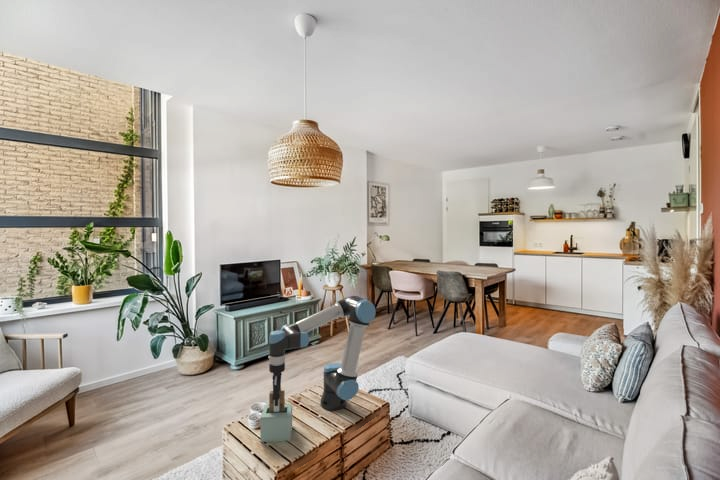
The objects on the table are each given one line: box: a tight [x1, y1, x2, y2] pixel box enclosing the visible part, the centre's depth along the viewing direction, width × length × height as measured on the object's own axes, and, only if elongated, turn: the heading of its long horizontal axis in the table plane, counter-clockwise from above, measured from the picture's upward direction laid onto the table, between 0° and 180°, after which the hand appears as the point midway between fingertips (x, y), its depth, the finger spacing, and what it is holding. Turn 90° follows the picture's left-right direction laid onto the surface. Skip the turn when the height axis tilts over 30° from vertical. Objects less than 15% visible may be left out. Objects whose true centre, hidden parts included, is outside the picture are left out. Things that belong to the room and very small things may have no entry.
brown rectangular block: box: [268, 389, 285, 412], centre depth 173 cm, size 7×3×9 cm, turn 96°
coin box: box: [259, 402, 293, 443], centre depth 173 cm, size 14×12×12 cm
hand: (277, 409), depth 173 cm, fingers closed on brown rectangular block, 3 cm apart
